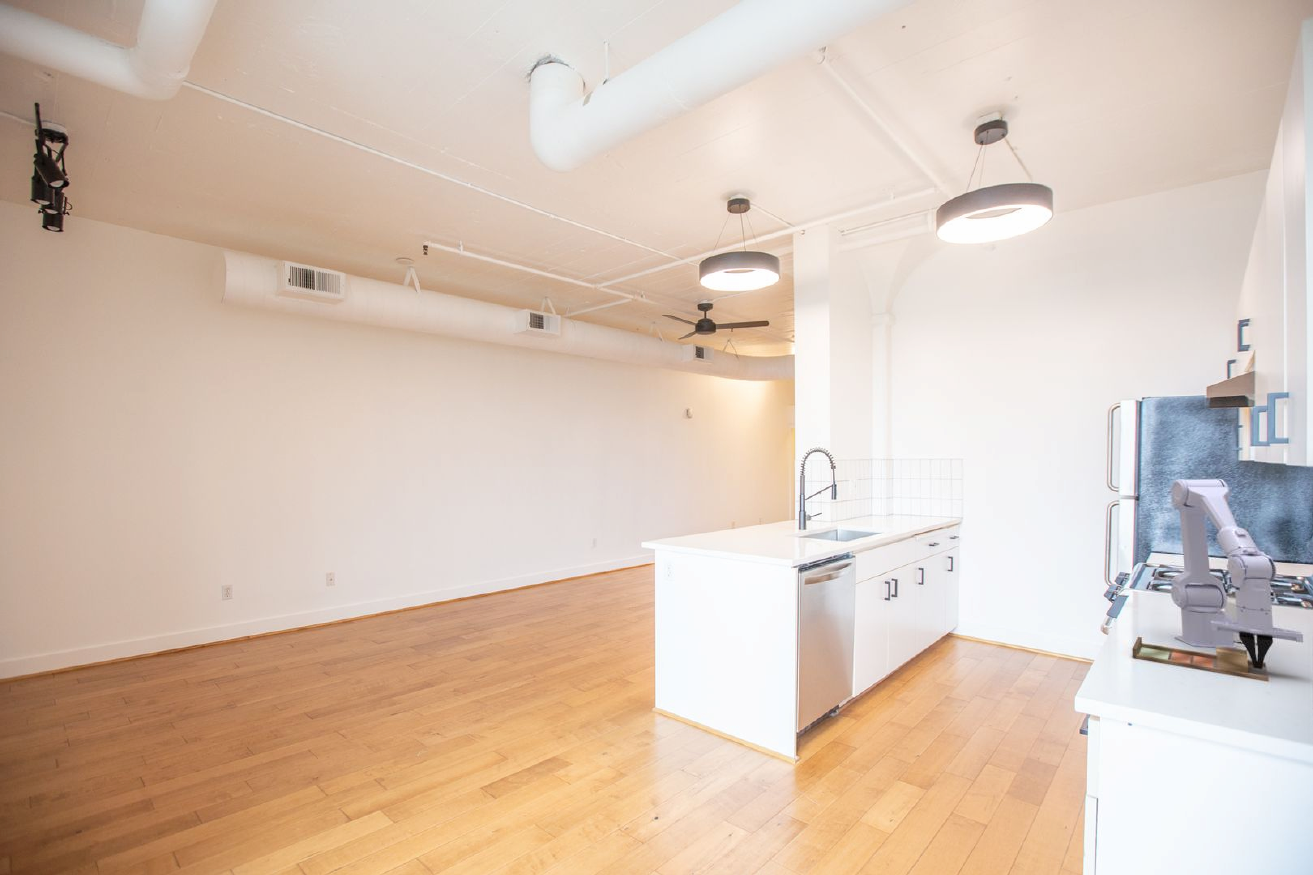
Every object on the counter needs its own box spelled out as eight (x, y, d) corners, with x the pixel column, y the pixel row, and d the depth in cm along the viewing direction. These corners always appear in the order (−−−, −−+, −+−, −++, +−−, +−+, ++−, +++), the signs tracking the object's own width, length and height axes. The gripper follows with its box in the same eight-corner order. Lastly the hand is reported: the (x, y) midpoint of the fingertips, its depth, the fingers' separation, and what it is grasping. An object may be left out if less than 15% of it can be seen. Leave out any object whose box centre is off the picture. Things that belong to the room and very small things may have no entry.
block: (1247, 667, 134) (1246, 650, 135) (1248, 673, 131) (1247, 655, 131) (1217, 662, 138) (1216, 645, 138) (1217, 667, 134) (1216, 650, 135)
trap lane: (1265, 666, 135) (1264, 656, 135) (1268, 682, 126) (1267, 670, 126) (1138, 646, 151) (1138, 636, 151) (1132, 658, 142) (1132, 648, 142)
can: (1267, 645, 150) (1264, 599, 151) (1238, 644, 152) (1235, 598, 152) (1247, 637, 157) (1244, 593, 157) (1220, 637, 158) (1217, 592, 159)
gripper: (1209, 605, 134) (1213, 664, 134) (1302, 616, 124) (1307, 680, 124) (1210, 600, 139) (1213, 657, 139) (1299, 610, 129) (1303, 671, 129)
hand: (1257, 667), depth 132 cm, fingers closed
